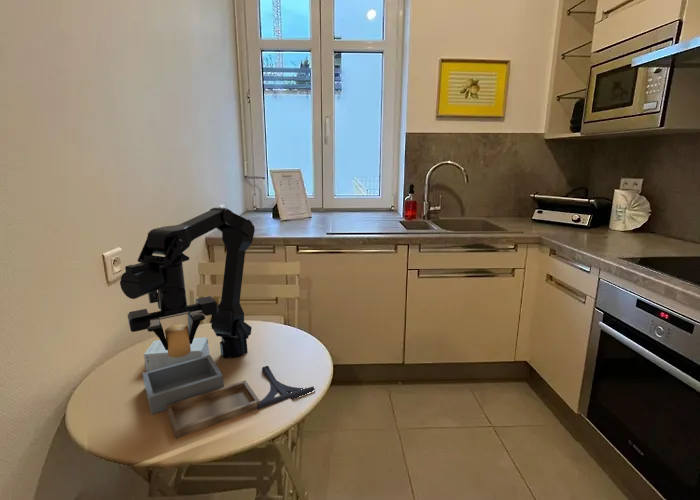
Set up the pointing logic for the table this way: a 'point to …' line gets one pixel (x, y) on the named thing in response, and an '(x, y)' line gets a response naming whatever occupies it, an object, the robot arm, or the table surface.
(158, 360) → the skincare box
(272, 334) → the table surface
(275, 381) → the bracket
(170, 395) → the grey storage bin
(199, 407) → the walnut tray
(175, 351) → the tan cylinder
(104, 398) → the table surface
